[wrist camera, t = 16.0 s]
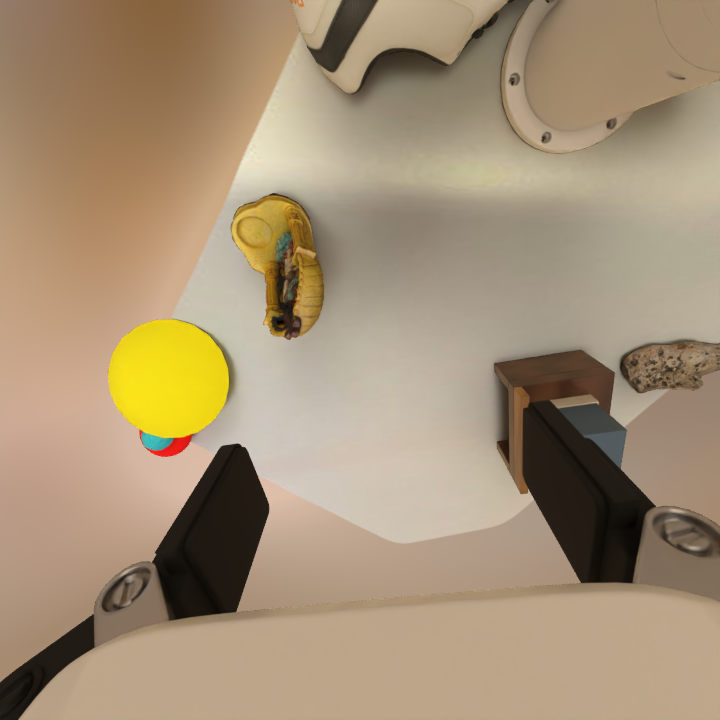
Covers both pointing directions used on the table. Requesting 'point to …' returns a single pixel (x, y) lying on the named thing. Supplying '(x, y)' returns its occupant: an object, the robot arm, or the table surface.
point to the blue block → (594, 424)
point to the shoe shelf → (547, 393)
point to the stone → (671, 366)
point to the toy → (168, 383)
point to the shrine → (282, 261)
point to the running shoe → (388, 32)
